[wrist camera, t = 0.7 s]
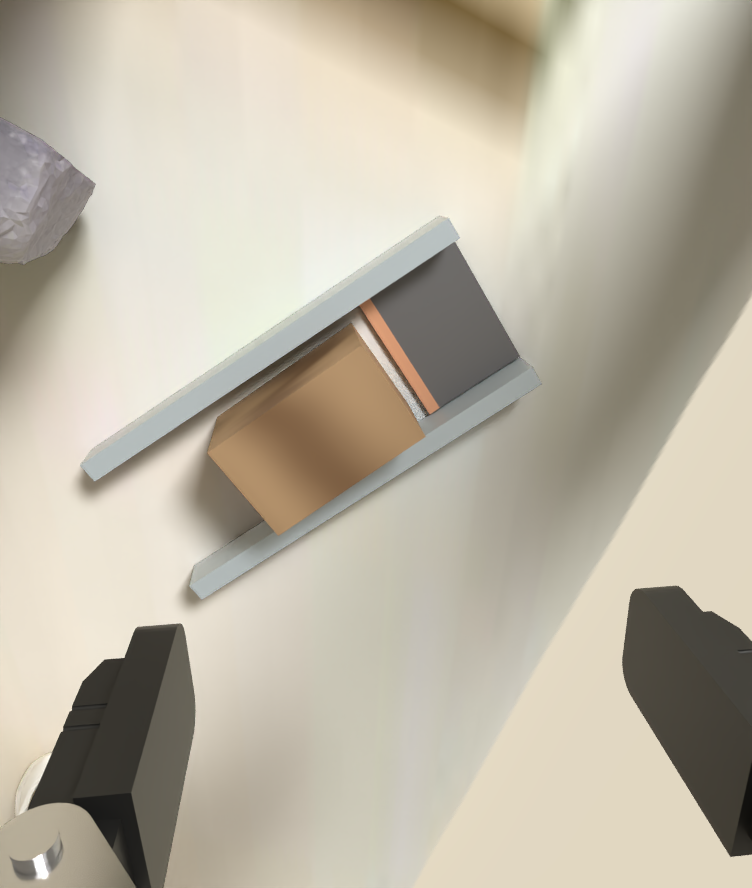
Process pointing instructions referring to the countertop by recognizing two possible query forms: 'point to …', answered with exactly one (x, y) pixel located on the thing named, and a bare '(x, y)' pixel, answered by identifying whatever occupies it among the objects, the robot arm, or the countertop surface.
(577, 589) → the countertop surface
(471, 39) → the countertop surface
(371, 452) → the walnut block
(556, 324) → the countertop surface
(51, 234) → the stone block
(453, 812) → the countertop surface
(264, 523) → the guide channel
